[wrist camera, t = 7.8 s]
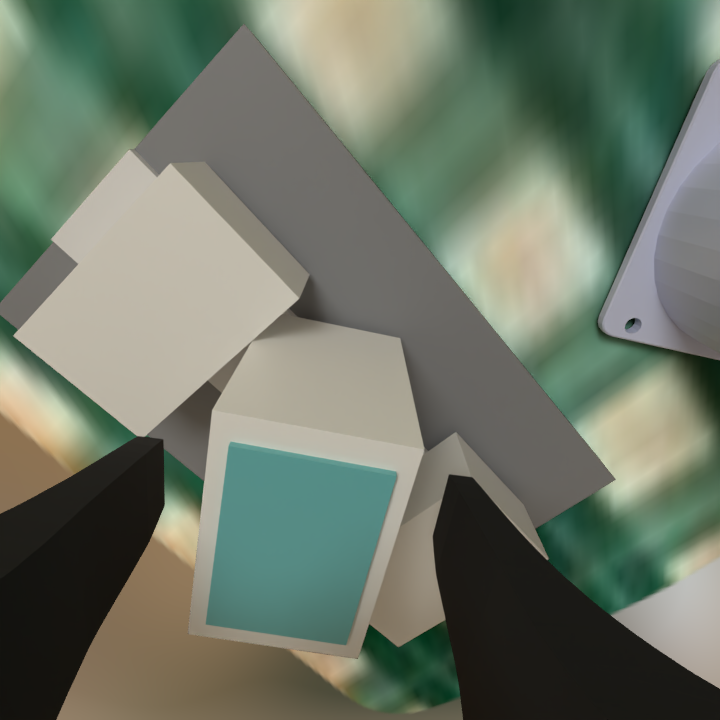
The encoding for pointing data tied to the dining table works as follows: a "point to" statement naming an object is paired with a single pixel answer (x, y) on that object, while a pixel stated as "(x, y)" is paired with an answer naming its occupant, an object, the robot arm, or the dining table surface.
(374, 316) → the board
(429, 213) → the dining table surface
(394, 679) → the dining table surface
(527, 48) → the dining table surface
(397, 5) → the dining table surface
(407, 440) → the module
